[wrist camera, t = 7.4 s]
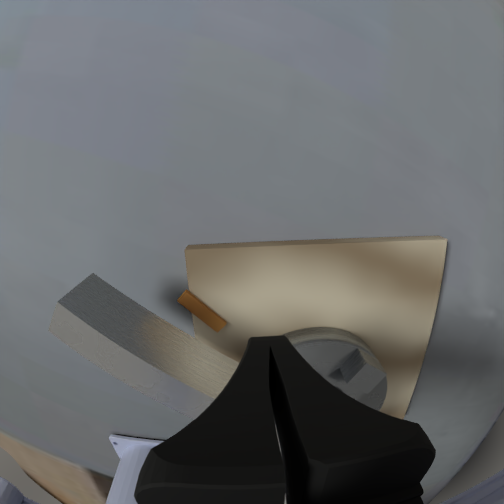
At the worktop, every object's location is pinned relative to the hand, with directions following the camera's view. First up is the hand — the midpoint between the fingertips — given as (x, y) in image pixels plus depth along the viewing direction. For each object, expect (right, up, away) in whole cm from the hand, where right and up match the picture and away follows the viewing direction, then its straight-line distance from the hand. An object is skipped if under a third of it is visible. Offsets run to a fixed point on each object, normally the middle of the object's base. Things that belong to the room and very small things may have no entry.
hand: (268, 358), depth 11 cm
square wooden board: (+4, -3, +9) cm, 10 cm away
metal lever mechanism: (-1, -3, +7) cm, 8 cm away
